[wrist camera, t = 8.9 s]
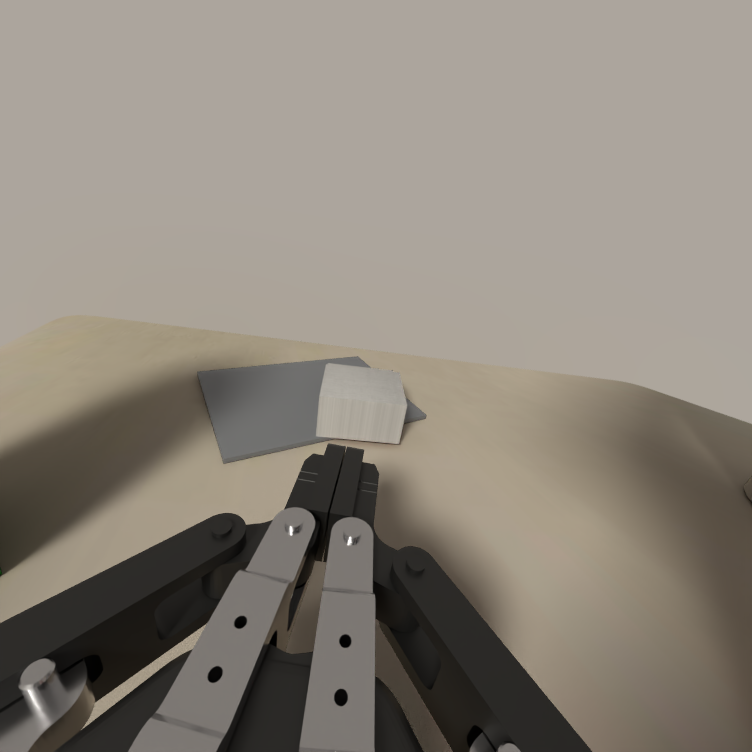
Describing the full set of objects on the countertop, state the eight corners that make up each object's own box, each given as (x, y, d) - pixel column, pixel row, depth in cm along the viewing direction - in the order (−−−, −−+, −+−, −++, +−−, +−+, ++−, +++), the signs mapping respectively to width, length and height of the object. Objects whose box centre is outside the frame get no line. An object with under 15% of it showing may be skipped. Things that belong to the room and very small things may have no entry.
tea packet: (407, 405, 27) (395, 355, 36) (319, 396, 27) (329, 347, 36) (399, 444, 29) (389, 386, 38) (315, 436, 28) (326, 379, 37)
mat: (357, 359, 44) (357, 356, 44) (425, 418, 34) (426, 415, 34) (197, 375, 35) (197, 371, 35) (223, 463, 25) (223, 458, 24)
